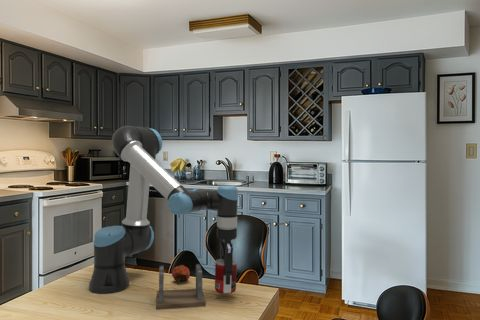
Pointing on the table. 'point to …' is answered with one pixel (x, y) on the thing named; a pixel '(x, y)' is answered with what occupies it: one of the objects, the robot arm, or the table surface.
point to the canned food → (220, 278)
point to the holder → (180, 293)
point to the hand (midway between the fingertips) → (225, 288)
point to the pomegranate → (181, 273)
